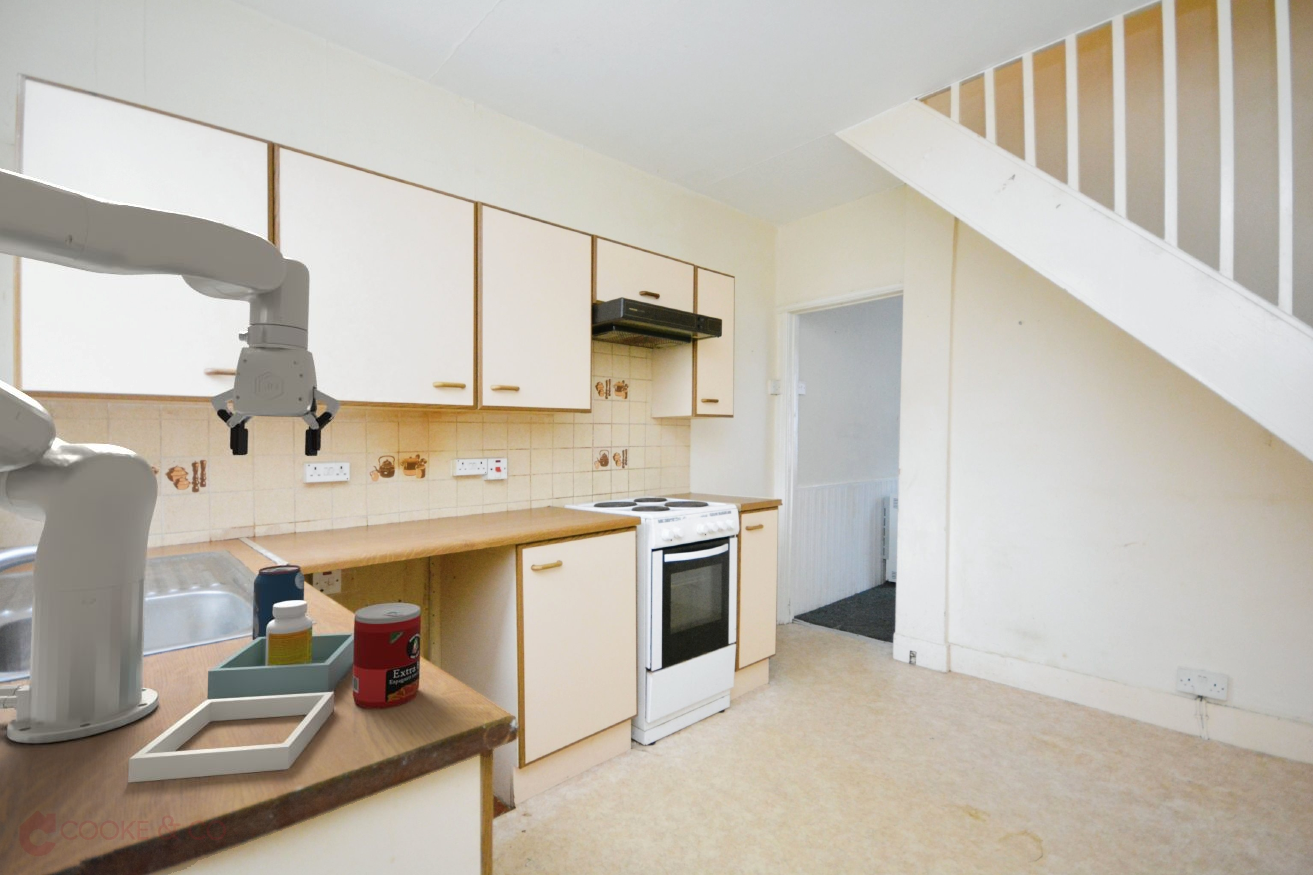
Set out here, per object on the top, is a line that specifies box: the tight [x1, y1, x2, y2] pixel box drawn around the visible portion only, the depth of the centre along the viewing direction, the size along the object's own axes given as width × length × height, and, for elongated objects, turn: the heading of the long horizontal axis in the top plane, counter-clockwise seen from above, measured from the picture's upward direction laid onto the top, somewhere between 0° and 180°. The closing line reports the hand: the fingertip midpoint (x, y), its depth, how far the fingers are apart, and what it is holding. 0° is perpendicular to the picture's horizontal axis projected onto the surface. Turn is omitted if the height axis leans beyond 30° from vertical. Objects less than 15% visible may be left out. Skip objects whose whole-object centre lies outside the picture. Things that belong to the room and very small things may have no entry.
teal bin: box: [206, 632, 354, 700], centre depth 82 cm, size 14×14×4 cm
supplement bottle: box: [265, 600, 313, 666], centre depth 81 cm, size 5×5×10 cm
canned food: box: [352, 602, 422, 710], centre depth 77 cm, size 8×8×11 cm
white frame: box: [127, 691, 335, 783], centre depth 64 cm, size 14×14×2 cm
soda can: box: [251, 564, 305, 641], centre depth 97 cm, size 7×7×12 cm
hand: (276, 455), depth 90 cm, fingers open, 9 cm apart
